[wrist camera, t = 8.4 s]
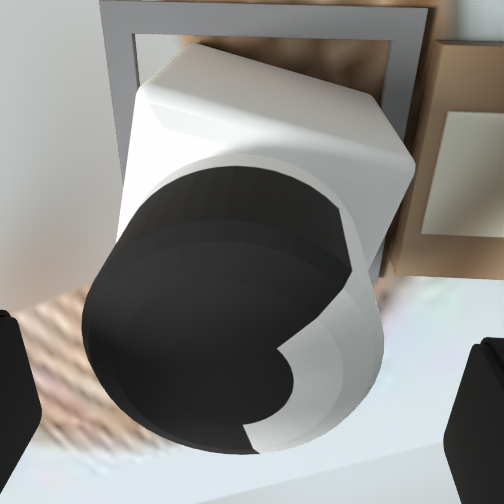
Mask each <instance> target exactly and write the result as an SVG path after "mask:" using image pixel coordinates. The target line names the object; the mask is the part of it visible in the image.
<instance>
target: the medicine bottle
mask: <svg viewBox="0 0 504 504" xmlns="http://www.w3.org/2000/svg"><path fill="white" fill-rule="evenodd" d="M415 166H416V164H415V162H414V160H413V158H412V156H411V155H410V153H409V152H408V150H407V149H406V147H405V145H404V144H403V142H402V141H401V139H400V138H399V136H398V135H397V133H396V132H395V130H394V128H393V127H392V125H391V124H390V122H389V121H388V119H387V118H386V116H385V115H384V113H383V111H382V110H381V108H380V107H379V105H378V104H377V102H376V101H375V99H374V98H373V96H371V95H370V94H368V93H364V92H361V91H357V90H354V89H351V88H347V87H344V86H340V85H337V84H333V83H330V82H327V81H323V80H320V79H316V78H313V77H310V76H306V75H303V74H299V73H296V72H293V71H289V70H286V69H282V68H279V67H275V66H272V65H269V64H265V63H262V62H258V61H255V60H252V59H248V58H245V57H241V56H238V55H235V54H231V53H228V52H224V51H221V50H217V49H214V48H211V47H207V46H204V45H200V44H197V43H190V44H189V45H187V46H186V47H185V48H184V49H182V50H181V51H180V52H179V53H178V54H177V55H176V56H174V57H173V58H172V59H171V60H170V61H169V62H167V63H166V64H165V65H164V66H163V67H162V68H160V69H159V70H158V71H157V72H156V73H155V74H154V75H152V76H151V77H150V78H149V79H148V80H147V81H145V82H144V83H143V84H142V85H141V86H140V87H139V89H138V91H137V93H136V99H135V106H134V114H133V121H132V129H131V136H130V144H129V151H128V159H127V166H126V173H125V181H124V189H123V196H122V204H121V211H120V219H119V226H118V233H117V241H116V245H115V246H114V248H113V250H112V252H111V253H110V255H109V256H108V258H107V260H106V262H105V263H104V265H103V267H102V268H101V270H100V272H99V273H98V275H97V277H96V278H95V280H94V282H93V284H92V286H91V288H90V290H89V292H88V295H87V297H86V301H85V305H84V309H83V313H82V337H83V344H84V348H85V351H86V354H87V358H88V361H89V363H90V365H91V367H92V369H93V371H94V373H95V375H96V377H97V378H98V380H99V382H100V384H101V385H102V387H103V388H104V389H105V391H106V392H107V394H108V395H109V397H110V398H111V399H112V400H113V401H114V402H115V403H116V404H117V406H118V407H119V408H120V409H121V410H122V411H124V412H125V413H126V414H127V415H128V416H129V417H131V418H132V419H133V420H134V421H136V422H137V423H139V424H140V425H142V426H143V427H145V428H146V429H148V430H150V431H152V432H154V433H155V434H157V435H159V436H161V437H163V438H166V439H168V440H170V441H173V442H175V443H178V444H181V445H184V446H187V447H191V448H194V449H199V450H203V451H208V452H215V453H222V454H239V455H247V454H262V453H269V452H276V451H281V450H285V449H289V448H293V447H296V446H299V445H301V444H304V443H307V442H309V441H311V440H313V439H316V438H318V437H320V436H322V435H323V434H325V433H327V432H328V431H330V430H331V429H333V428H334V427H336V426H337V425H338V424H339V423H341V422H342V421H343V420H344V419H345V418H346V417H348V416H349V415H350V414H351V413H352V412H353V411H354V410H355V409H356V407H357V406H358V405H359V404H360V403H361V402H362V400H363V399H364V398H365V397H366V396H367V394H368V392H369V391H370V389H371V388H372V386H373V384H374V383H375V380H376V378H377V375H378V373H379V371H380V368H381V363H382V358H383V354H384V334H383V328H382V322H381V317H380V314H379V310H378V306H377V302H376V299H375V295H374V291H373V287H372V284H371V280H370V276H369V273H368V270H369V268H370V266H371V264H372V262H373V260H374V258H375V256H376V253H377V251H378V249H379V247H380V245H381V243H382V241H383V239H384V237H385V235H386V232H387V230H388V228H389V226H390V224H391V222H392V220H393V218H394V216H395V214H396V211H397V209H398V207H399V205H400V203H401V201H402V199H403V197H404V195H405V193H406V190H407V188H408V186H409V184H410V182H411V180H412V178H413V176H414V173H415Z"/></svg>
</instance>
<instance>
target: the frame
mask: <svg viewBox="0 0 504 504" xmlns="http://www.w3.org/2000/svg"><path fill="white" fill-rule="evenodd" d="M99 5H100V12H101V20H102V28H103V35H104V43H105V51H106V58H107V66H108V73H109V81H110V89H111V96H112V104H113V111H114V119H115V127H116V134H117V142H118V150H119V157H120V164H121V173H122V180H123V187H124V181H125V173H126V166H127V159H128V151H129V144H130V136H131V129H132V121H133V114H134V106H135V99H136V93H137V91H138V89H139V87H140V82H139V72H138V64H137V63H138V62H137V52H136V42H135V34H172V35H209V36H246V37H283V38H320V39H356V40H390V44H389V50H388V57H387V63H386V70H385V76H384V83H383V89H382V96H381V102H380V108H381V110H382V111H383V113H384V115H385V116H386V118H387V119H388V121H389V122H390V124H391V125H392V127H393V128H394V130H395V132H396V133H397V135H398V136H399V138H400V139H401V141H402V142H404V136H405V131H406V125H407V120H408V115H409V109H410V104H411V99H412V93H413V88H414V82H415V77H416V72H417V66H418V61H419V56H420V50H421V45H422V39H423V34H424V29H425V23H426V18H427V13H428V8H426V7H389V6H348V5H307V4H265V3H224V2H183V1H142V0H99ZM386 233H387V232H386ZM385 238H386V235H385V237H384V239H383V241H382V243H381V245H380V247H379V249H378V251H377V253H376V256H375V258H374V260H373V262H372V264H371V266H370V268H369V270H368V273H369V276H370V280H371V283H377V281H378V276H379V271H380V265H381V260H382V254H383V249H384V244H385Z"/></svg>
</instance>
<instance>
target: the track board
mask: <svg viewBox="0 0 504 504" xmlns="http://www.w3.org/2000/svg"><path fill="white" fill-rule="evenodd" d="M411 156H412V158H413V160H414V162H415V164H416V166H415V173H414V176H413V178H412V180H411V182H410V184H409V186H408V188H407V190H406V193H405V195H404V197H403V199H402V204H401V209H400V214H399V220H398V225H397V230H396V235H395V240H394V245H393V250H392V255H391V263H392V265H393V268H394V271H395V274H396V275H407V276H428V277H450V278H471V279H492V280H504V42H488V41H451V40H434V42H433V47H432V53H431V58H430V63H429V68H428V73H427V78H426V83H425V88H424V93H423V98H422V103H421V108H420V113H419V118H418V123H417V128H416V133H415V139H414V144H413V149H412V154H411Z"/></svg>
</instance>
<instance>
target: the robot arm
mask: <svg viewBox="0 0 504 504" xmlns="http://www.w3.org/2000/svg"><path fill="white" fill-rule="evenodd" d="M41 416H42V408H41V404H40V400H39V397H38V393H37V389H36V386H35V382H34V379H33V375H32V371H31V368H30V364H29V360H28V357H27V353H26V350H25V346H24V342H23V339H22V335H21V332H20V328H19V324H18V322H17V320H16V319H15V318H13V317H11V316H10V314H9V313H8V312H7V311H6V310H0V494H1V492H2V490H3V488H4V486H5V485H6V483H7V481H8V479H9V478H10V476H11V474H12V472H13V470H14V469H15V467H16V465H17V463H18V462H19V460H20V458H21V456H22V454H23V453H24V451H25V449H26V447H27V445H28V444H29V442H30V440H31V438H32V437H33V435H34V433H35V431H36V429H37V428H38V426H39V423H40V420H41ZM443 444H444V452H445V455H446V458H447V461H448V464H449V467H450V470H451V473H452V476H453V479H454V482H455V485H456V488H457V491H458V494H459V497H460V500H461V503H462V504H504V338H492V337H486V338H484V339H483V340H482V341H481V343H480V344H474V345H473V346H472V348H471V351H470V354H469V357H468V361H467V364H466V367H465V370H464V373H463V376H462V380H461V383H460V386H459V389H458V392H457V395H456V398H455V402H454V405H453V408H452V411H451V414H450V417H449V421H448V424H447V427H446V430H445V433H444V439H443Z"/></svg>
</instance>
